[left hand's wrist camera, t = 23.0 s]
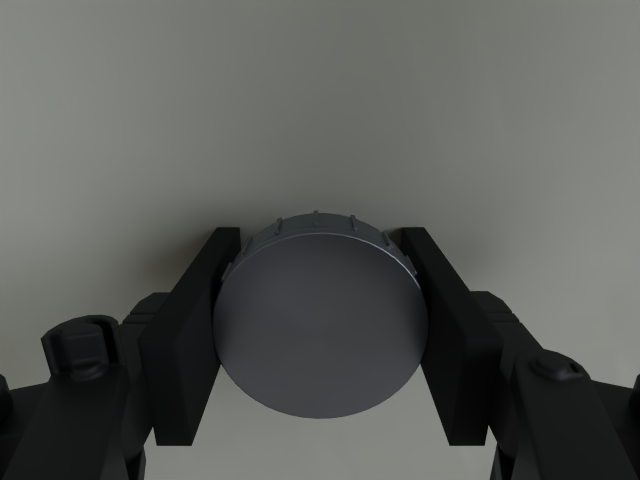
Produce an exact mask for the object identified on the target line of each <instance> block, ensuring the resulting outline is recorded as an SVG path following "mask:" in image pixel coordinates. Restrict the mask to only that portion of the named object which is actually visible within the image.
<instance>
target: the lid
mask: <svg viewBox="0 0 640 480" xmlns="http://www.w3.org/2000/svg"><path fill="white" fill-rule="evenodd" d="M415 275H417V273H416V271H415V269H414V267H413V265H412V263H411V261H410V259H409V257H408V255H407V256H404V255H403V253H402V252H401V251H400V249H399V248H398V247H397V246H396V244H394V243H393V242H392V241H391V240H390V239H389V237H388V235H387V232H385V231H383V232H380V231H379V230H377V229H376V228H374V227H372V226H370V225H369V224H367V223H365V222H362V221H360V220H357V219H355V216H354V215H351V216H350V217H347V216H343V215H338V214H328V213H318V210H317V211H314V213H311V214H304V215H298V216H294V217H291V218H287V219H284V220H282V218H279V219H277V223H274V224H272V225H271V226H269V227H267V228H265V229H264V230H262V231H261V232H259V233H258V234H257V235H256V236H254V237H253V238H252V237H251V236H250V237H249V238H248V239H247V241H246V243H245V246H244V247H243V248H242V249H241V251H240V252H239V254H238V255H237V256H236V258H235V260H234V262H233V264H232V263H229V265H228V267H227V269H226V271H225V273H224V275H223V277H222V279H221V281H220V282H221V283H223V284H222V286H221V288H220V290H219V292H218V295H217V298H216V301H215V304H214V308H213V314H212V334H213V342H214V346H215V349H216V353H217V355H218V357H219V360H220V362H221V364H222V366H223V367H224V369H225V371H226V372H227V374H228V375H229V376H230V378H231V379H232V380H233V381H234V382H235V384H236V385H237V386H238V387H240V388H241V389H242V390H243V391H244V392H245V393H246V394H248V395H249V396H250V397H252V398H253V399H255V400H256V401H258V402H260V403H261V404H263V405H265V406H267V407H269V408H271V409H274V410H276V411H279V412H282V413H285V414H289V415H293V416H298V417H303V418H315V419H321V418H336V417H343V416H348V415H352V414H356V413H359V412H362V411H365V410H367V409H370V408H372V407H374V406H376V405H378V404H380V403H381V402H383V401H385V400H386V399H388V398H390V397H391V396H392V395H393V394H395V393H396V392H397V391H398V390H400V389H401V388H402V387H403V386H404V385H405V384H406V383H407V382H408V380H409V379H410V378H411V376H412V375H413V374H414V372H415V371H416V369H417V367H418V366H419V364H420V362H421V360H422V358H423V355H424V353H425V350H426V346H427V342H428V337H429V326H430V323H429V312H428V307H427V302H426V300H425V297H424V294H423V292H422V289H421V287H420V285H419V283H418V281H417V279H416V277H415Z"/></svg>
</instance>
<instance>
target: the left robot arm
mask: <svg viewBox="0 0 640 480" xmlns="http://www.w3.org/2000/svg"><path fill="white" fill-rule="evenodd" d="M240 251H241V242H240V229H239V228H220V227H217V229H216V230H215V231H214V233H213V234H212V236H211V237H210V238H209V240H208V241H207V243H206V244H205V245H204V247H203V248H202V250H201V251H200V252H199V254H198V255H197V256H196V258H195V259H194V261H193V262H192V263H191V265H190V266H189V268H188V269H187V270H186V272H185V273H184V275H183V276H182V277H181V279H180V280H179V281H178V283H177V284H176V286H175V287H174V288H173V290H172V291H171V293H153V294H151V295H149V296H148V297H146V298H144V299H143V300H141V301H139V302H138V304H137V305H136V306H135V307H134V308H133V310H132V311H131V312H130V315H128V316H127V317H126V318H125V319H124V320H123V322H122V324H120V325H119V324H118V321H117V320H116V319H114V318H113V317H111V316H106V315H87V316H83V317H78V318H74V319H71V320H69V321H66V322H63V323H61V324H59V325H57V326H55V327H54V328H52V329H51V330H49V331H48V332H47V333H46V334H45V335H44V336H43V337H42V338H41V342H42V345H43V349H44V352H45V356H46V359H47V363H48V366H49V370H50V373H51V377H50V379H49V381H48V382H47V383H43V384H38V385H33V386H28V387H23V388H18V389H13V390H9V388H8V385H7V382H6V379H5V377H4V376H2V375H1V374H0V480H144V474H145V465H146V457H145V451H144V444H145V442H146V440H147V438H148V435H149V433H150V431H151V429H152V427H153V428H154V433H155V439H156V444H157V446H192V443H193V441H194V438H195V435H196V432H197V429H198V427H199V424H200V421H201V418H202V415H203V413H204V410H205V407H206V404H207V401H208V399H209V396H210V393H211V390H212V387H213V385H214V382H215V379H216V376H217V374H218V371H219V368H220V365H221V362H220V360H219V357H218V355H217V353H216V349H215V346H214V342H213V334H212V314H213V308H214V304H215V301H216V298H217V295H218V292H219V290H220V288H221V286H222V284H223V283H221V282H220V281H221V279H222V277H223V275H224V273H225V271H226V269H227V267H228V265H229V263H232V264H233V262H234V260H235V258H236V256H237V255H238V254H239V252H240ZM400 251H401V252H402V253H403V255H404V256H407V255H408V257H409V259H410V261H411V263H412V265H413V267H414V269H415V271H416V273H417V275H415V277H416V279H417V281H418V283H419V285H420V287H421V289H422V292H423V294H424V297H425V300H426V302H427V307H428V312H429V323H430V326H429V337H428V342H427V346H426V350H425V353H424V355H423V358H422V360H421V362H420V364H421V367H422V370H423V373H424V375H425V378H426V381H427V384H428V386H429V389H430V392H431V395H432V398H433V400H434V403H435V406H436V409H437V412H438V414H439V417H440V420H441V423H442V426H443V428H444V431H445V434H446V437H447V440H448V442H449V445H450V446H485V441H486V435H487V430H488V425H489V427H490V429H491V431H492V433H493V435H494V437H495V439H496V441H497V446H496V451H495V456H494V461H493V466H492V471H491V475H490V480H640V374H639V375H638V376H637V378H636V381H635V384H634V387H633V389H632V388H627V387H622V386H617V385H612V384H607V383H602V382H598V381H594V380H591V378H590V376H589V374H588V373H587V372H586V371H585V369H584V368H583V367H582V366H581V365H580V364H578V363H577V362H575V361H574V360H573V359H571V358H569V357H567V356H565V355H562V354H560V353H558V352H554V351H550V350H546V349H543V348H542V347H541V345H540V344H539V343H538V342H537V341H536V339H535V338H534V337H533V336H532V335H531V334H530V332H529V331H528V330H527V329H526V328H525V326H524V325H523V324H522V323H520V322H519V319H518V318H517V317H516V316H515V314H514V313H512V311H511V310H510V308H509V307H508V306H507V305H506V304H505V303H504V301H503V300H501V299H500V298H498V297H496V296H495V295H493V294H491V293H490V292H488V291H469V289H468V288H467V286H466V285H465V284H464V282H463V281H462V279H461V278H460V277H459V275H458V274H457V272H456V271H455V270H454V268H453V267H452V266H451V264H450V263H449V261H448V260H447V259H446V257H445V256H444V254H443V253H442V252H441V250H440V249H439V247H438V246H437V245H436V243H435V242H434V241H433V239H432V238H431V236H430V235H429V234H428V232H427V231H426V229H425V228H424V227H410V228H402V235H401V248H400Z"/></svg>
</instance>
